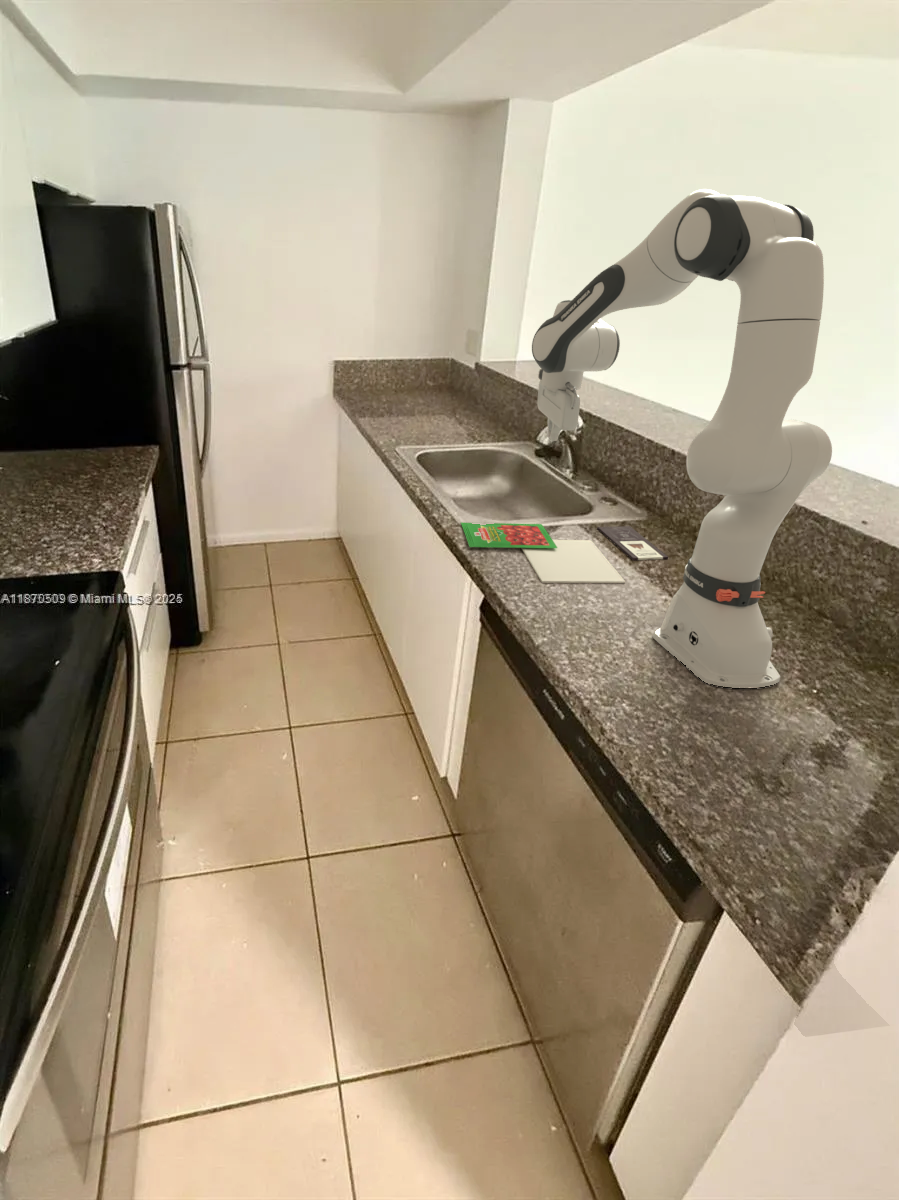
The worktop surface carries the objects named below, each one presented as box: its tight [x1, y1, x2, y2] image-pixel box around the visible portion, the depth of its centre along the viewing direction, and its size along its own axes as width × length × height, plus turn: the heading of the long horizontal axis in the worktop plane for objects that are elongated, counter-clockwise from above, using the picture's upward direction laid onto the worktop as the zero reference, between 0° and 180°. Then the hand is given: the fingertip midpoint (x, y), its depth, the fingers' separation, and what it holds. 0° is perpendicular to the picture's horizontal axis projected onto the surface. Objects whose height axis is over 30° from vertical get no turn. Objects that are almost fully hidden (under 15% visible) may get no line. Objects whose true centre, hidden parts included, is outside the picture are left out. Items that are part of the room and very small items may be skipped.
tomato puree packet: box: [460, 522, 557, 549], centre depth 151 cm, size 15×1×20 cm
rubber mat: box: [521, 539, 626, 584], centre depth 142 cm, size 21×18×1 cm
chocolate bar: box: [596, 525, 669, 561], centre depth 155 cm, size 9×1×18 cm
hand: (552, 439), depth 153 cm, fingers closed
